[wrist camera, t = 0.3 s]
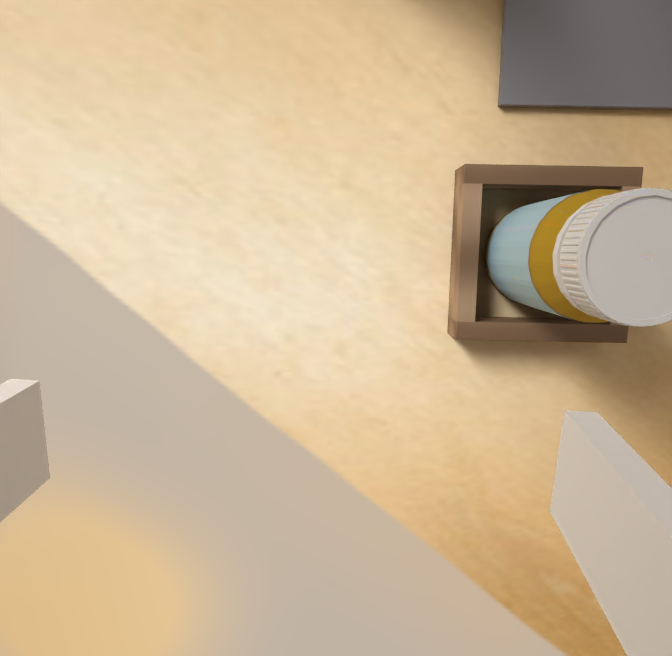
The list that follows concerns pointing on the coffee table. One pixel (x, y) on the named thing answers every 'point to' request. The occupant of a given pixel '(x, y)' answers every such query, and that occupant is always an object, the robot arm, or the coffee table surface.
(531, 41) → the charcoal mat
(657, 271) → the bottle
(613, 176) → the walnut collar
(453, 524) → the coffee table surface
